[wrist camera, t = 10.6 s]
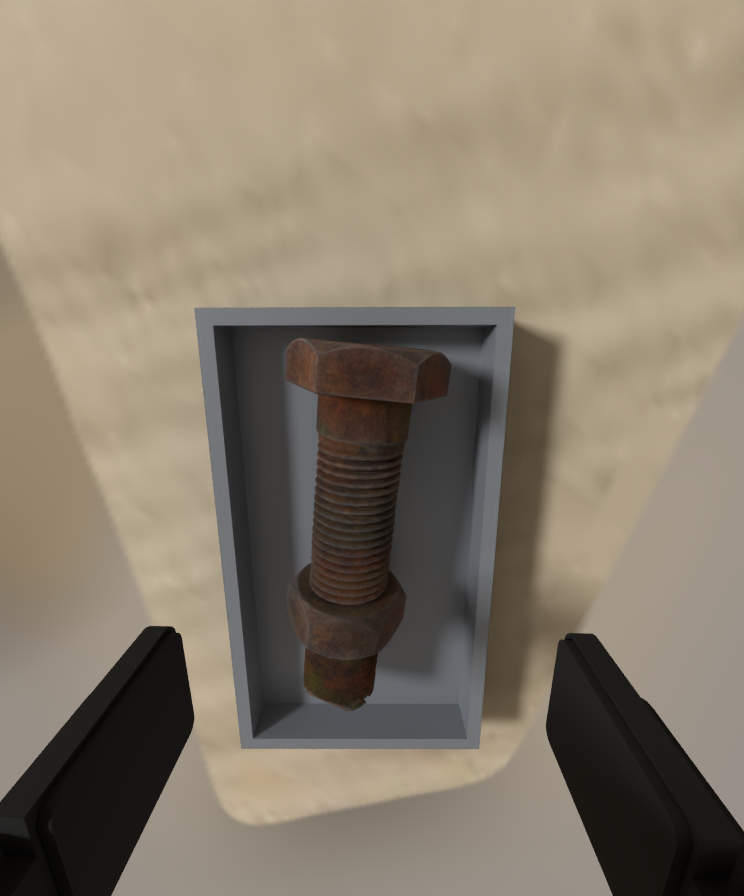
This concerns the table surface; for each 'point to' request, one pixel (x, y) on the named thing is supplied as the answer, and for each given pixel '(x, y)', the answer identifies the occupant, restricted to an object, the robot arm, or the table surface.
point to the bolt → (355, 506)
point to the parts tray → (415, 531)
